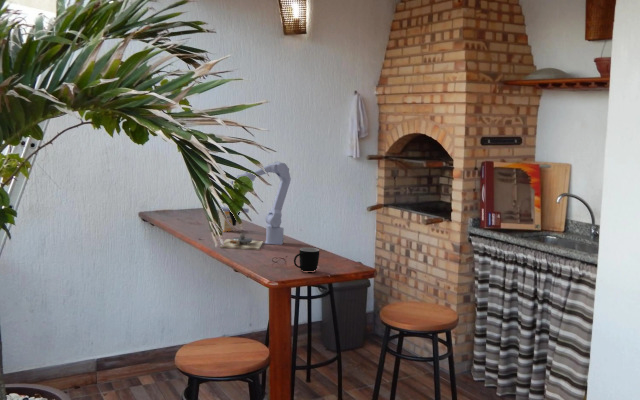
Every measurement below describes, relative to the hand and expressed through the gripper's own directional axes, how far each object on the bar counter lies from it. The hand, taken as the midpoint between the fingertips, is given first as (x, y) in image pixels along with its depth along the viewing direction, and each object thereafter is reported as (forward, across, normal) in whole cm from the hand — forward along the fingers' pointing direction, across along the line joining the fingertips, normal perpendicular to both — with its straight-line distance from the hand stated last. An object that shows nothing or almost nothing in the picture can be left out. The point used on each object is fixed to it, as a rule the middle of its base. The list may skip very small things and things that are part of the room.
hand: (234, 225), depth 364 cm
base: (+10, -5, +3) cm, 11 cm away
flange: (+8, -4, +5) cm, 10 cm away
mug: (+10, -41, +56) cm, 70 cm away
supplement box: (+10, +10, -38) cm, 41 cm away
